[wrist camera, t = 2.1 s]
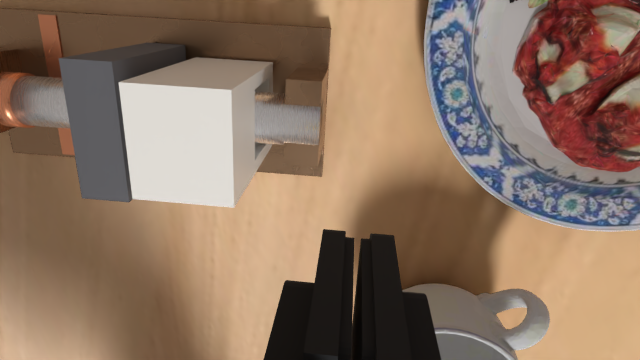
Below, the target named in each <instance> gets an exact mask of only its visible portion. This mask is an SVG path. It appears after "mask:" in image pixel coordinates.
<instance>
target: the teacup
mask: <svg viewBox="0 0 640 360" xmlns="http://www.w3.org/2000/svg"><path fill="white" fill-rule="evenodd" d="M402 291H404V292H415V293H425V294H426V296H427V299H428V303H429V307H430V312H431V316H432V321H433V325H434V329H435V334H436V338H437V343H438V347H439V351H440V356H441V360H518V359H517V356H516V354H515V351H514V350H522V349H526V348H529V347H531V346H533V345H535V344H536V343H538V342H539V341H540V340H541V339H542V338H543V337H544V335H545V334H546V332H547V330H548V327H549V322H550V318H549V312H548V309H547V307H546V305H545V304H544V302H543V301H542V300H541V299H540V298H538V297H537V296H536V295H534V294H533V293H531V292H529V291H527V290H523V289H508V290H503V291H499V292H496V293H493V294H489V293H481V294H479V295H474V294H472V293H470V292H468V291H466V290H464V289H462V288H459V287H456V286H451V285H447V284H437V283H431V284H422V285H416V286H413V287H410V288H407V289H404V290H402ZM517 307H526V308H527V315H526V317H525V319H524V320H523V322H522V323H521V324H519V325H518V326H517V327H515V328H512V329H505V327H503V325H502V323H501V322H500V320H499V318H498V317H497V316H496V314H497V313H499V312H502V311H504V310H508V309H511V308H517Z"/></svg>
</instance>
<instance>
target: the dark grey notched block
mask: <svg viewBox="0 0 640 360" xmlns="http://www.w3.org/2000/svg"><path fill="white" fill-rule="evenodd" d="M183 61H186V50H185V45H178V44H162V43H142V44H136V45H131V46H125V47H119V48H114V49H108V50H102V51H97V52H91V53H86V54H80V55H74V56H69V57H63V58H59V64H60V70H61V76H62V82H63V88H64V94H65V100H66V106H67V112H68V117H69V123H70V129H71V135H72V141H73V147H74V153H75V159H76V165H77V171H78V177H79V183H80V189H81V195H82V198H86V199H97V200H109V201H121V202H130V201H131V200H132V191H131V183H130V174H129V166H128V158H127V149H126V141H125V133H124V124H123V116H122V108H121V99H120V91H119V83H118V82H121V81H124V80H127V79H130V78H133V77H136V76H139V75H142V74H146V73H149V72H152V71H155V70H158V69H161V68H164V67H167V66H170V65H174V64H177V63H180V62H183Z"/></svg>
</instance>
